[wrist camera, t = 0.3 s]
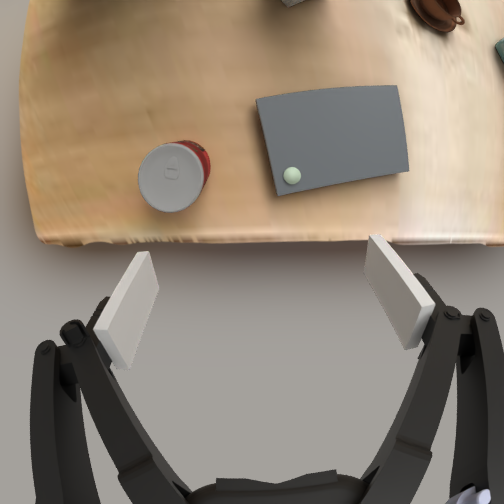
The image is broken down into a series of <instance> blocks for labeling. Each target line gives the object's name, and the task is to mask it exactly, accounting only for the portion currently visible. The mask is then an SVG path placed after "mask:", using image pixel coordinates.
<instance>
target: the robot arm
mask: <svg viewBox="0 0 504 504" xmlns="http://www.w3.org/2000/svg"><path fill="white" fill-rule="evenodd" d="M364 275H365V277H366V278H367V280H368V282H369V284H370V285H371V287H372V289H373V291H374V292H375V294H376V296H377V298H378V300H379V302H380V303H381V305H382V307H383V309H384V311H385V313H386V314H387V316H388V318H389V320H390V322H391V324H392V326H393V327H394V330H395V332H396V334H397V335H398V337H399V339H400V341H401V343H402V345H403V347H404V349H405V350H407V349H411V348H416V347H418V345H419V343H420V341H421V338H422V340H423V342H424V347H423V349H422V351H421V353H420V355H419V357H418V359H419V361H418V363H417V366H416V369H415V372H414V375H413V377H412V380H411V383H410V385H409V388H408V390H407V392H406V395H405V397H404V400H403V402H402V404H401V407H400V409H399V411H398V413H397V415H396V418H395V420H394V422H393V424H392V426H391V428H390V430H389V432H388V434H387V436H386V438H385V440H384V442H383V444H382V446H381V447H380V449H379V451H378V453H377V455H376V456H375V458H374V460H373V461H372V463H371V465H370V466H369V467H368V468H367V470H366V471H365V473H364V474H363V476H362V477H361V479H358V478H355V477H352V476H348V475H341V474H337V472H336V470H329V471H324V472H318V473H311V474H306V475H303V476H300V477H297V478H295V479H291V480H288V481H285V482H282V483H278V484H274V483H267V482H261V481H256V480H250V479H227V478H226V479H225V478H216V483H214V484H210V485H207V486H204V487H201V488H199V489H197V490H195V491H194V492H192V491H191V490H190V489H189V488H188V486H187V485H186V484H185V483H184V482H183V481H182V480H181V479H180V478H179V477H178V476H177V475H176V473H175V472H174V471H173V469H172V468H171V467H170V465H169V464H168V463H167V461H166V460H165V459H164V457H163V456H162V454H161V453H160V452H159V450H158V449H157V447H156V446H155V444H154V443H153V442H152V440H151V438H150V437H149V435H148V434H147V432H146V431H145V429H144V428H143V426H142V424H141V423H140V421H139V420H138V418H137V416H136V415H135V413H134V411H133V409H132V408H131V406H130V404H129V403H128V401H127V399H126V397H125V395H124V393H123V392H122V390H121V388H120V386H119V384H118V382H117V380H116V378H115V376H114V375H113V372H112V371H111V369H110V365H111V362H113V364H114V366H115V367H116V369H123V370H130V368H131V365H132V362H133V359H134V356H135V353H136V350H137V348H138V345H139V342H140V339H141V336H142V333H143V331H144V328H145V325H146V323H147V320H148V317H149V315H150V312H151V309H152V307H153V304H154V302H155V299H156V296H157V294H158V291H159V289H160V287H159V284H158V281H157V278H156V274H155V271H154V268H153V265H152V261H151V257H150V254H149V251H145V252H137V254H136V255H135V257H134V259H133V260H132V262H131V263H130V265H129V267H128V268H127V270H126V272H125V273H124V275H123V277H122V278H121V280H120V282H119V284H118V285H117V287H116V288H115V290H114V292H113V294H112V295H111V297H105V298H104V299H103V300H102V301H101V302H100V303H99V305H98V306H97V308H96V311H94V313H93V316H92V317H91V319H90V320H89V322H88V324H87V326H86V328H85V326H84V324H83V323H82V322H81V321H80V320H71V321H69V322H67V323H66V324H65V325H64V326H63V327H62V328H61V330H60V336H61V338H62V340H63V341H64V343H65V344H66V345H63V346H58V347H57V346H56V344H55V343H54V341H52V340H46V341H44V342H42V343H40V344H39V345H38V347H37V349H36V351H35V357H34V365H33V374H32V387H31V402H30V444H31V460H32V471H33V479H34V487H35V493H36V503H35V504H101V503H100V499H99V496H98V492H97V489H96V485H95V481H94V477H93V472H92V468H91V463H90V458H89V454H88V448H87V442H86V436H85V429H84V422H83V415H82V404H81V393H80V388H81V391H82V393H83V396H84V399H85V401H86V404H87V407H88V409H89V411H90V414H91V416H92V419H93V421H94V423H95V425H96V428H97V430H98V432H99V434H100V436H101V438H102V440H103V443H104V445H105V447H106V449H107V450H108V453H109V455H110V456H111V458H112V460H113V462H114V464H115V466H116V468H117V469H118V472H119V474H118V480H119V482H120V483H121V486H122V487H123V489H124V491H125V492H126V494H127V495H128V497H129V499H130V500H131V502H132V503H133V504H410V503H411V501H412V499H413V497H414V495H415V493H416V491H417V489H418V487H419V485H420V483H421V481H422V479H423V477H424V475H425V472H426V470H427V468H428V466H429V463H430V461H431V458H432V452H431V451H430V449H431V445H432V443H433V440H434V437H435V435H436V432H437V429H438V426H439V423H440V420H441V417H442V414H443V411H444V407H445V404H446V400H447V397H448V393H449V389H450V385H451V381H452V377H453V373H454V368H455V363H456V369H457V426H456V440H455V451H454V459H453V467H452V474H451V481H450V496H449V497H450V499H449V500H448V501H447V502H446V504H504V352H503V347H502V343H501V339H500V335H499V331H498V327H497V324H496V320H495V317H494V315H493V314H492V313H491V312H490V311H489V310H488V309H485V308H478V309H476V310H475V312H474V314H473V316H468V315H462V314H461V313H460V311H459V310H458V309H457V308H454V307H452V306H446V305H445V304H444V302H443V301H442V300H441V298H440V297H439V295H438V294H437V293H436V292H435V290H433V288H432V286H430V284H429V283H428V281H427V280H426V279H425V278H424V277H422V276H421V275H420V274H418V273H417V274H413V273H412V272H411V271H410V270H409V268H408V267H407V266H406V265H405V263H404V262H403V261H402V260H401V258H400V257H399V256H398V255H397V253H396V252H395V251H394V250H393V249H392V248H391V246H390V245H389V244H388V243H387V242H386V240H385V239H384V238H383V237H382V236H381V235H380V234H377V235H369V240H368V247H367V254H366V261H365V268H364Z"/></svg>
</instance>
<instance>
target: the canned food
mask: <svg viewBox="0 0 504 504" xmlns="http://www.w3.org/2000/svg"><path fill="white" fill-rule="evenodd" d="M209 173H210V160H209V156H208V154H207V152H206V151H205V150H204V148H203V147H202V146H200V145H199V144H197V143H195V142H192V141H185V140H184V141H178V142H172V143H166V144H163V145H160V146H158V147H156V148H155V149H153V150H152V151H150V152H149V153H148V155H147V156H146V157H145V158H144V160H143V161H142V163H141V166H140V168H139V173H138V184H139V189H140V192H141V194H142V196H143V198H144V199H145V201H146V202H147V203H148V204H149V205H150V206H152V207H153V208H155V209H157V210H159V211H162V212H169V213H172V212H178V211H181V210H184V209H185V208H187V207H189V206H190V205H191V204H192V203H193V202H194V201H195V200H196V199H197V197H198V196H199V194H200V193H201V191H202V189H203V187H204V185H205V183H206V181H207V179H208V177H209Z"/></svg>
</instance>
